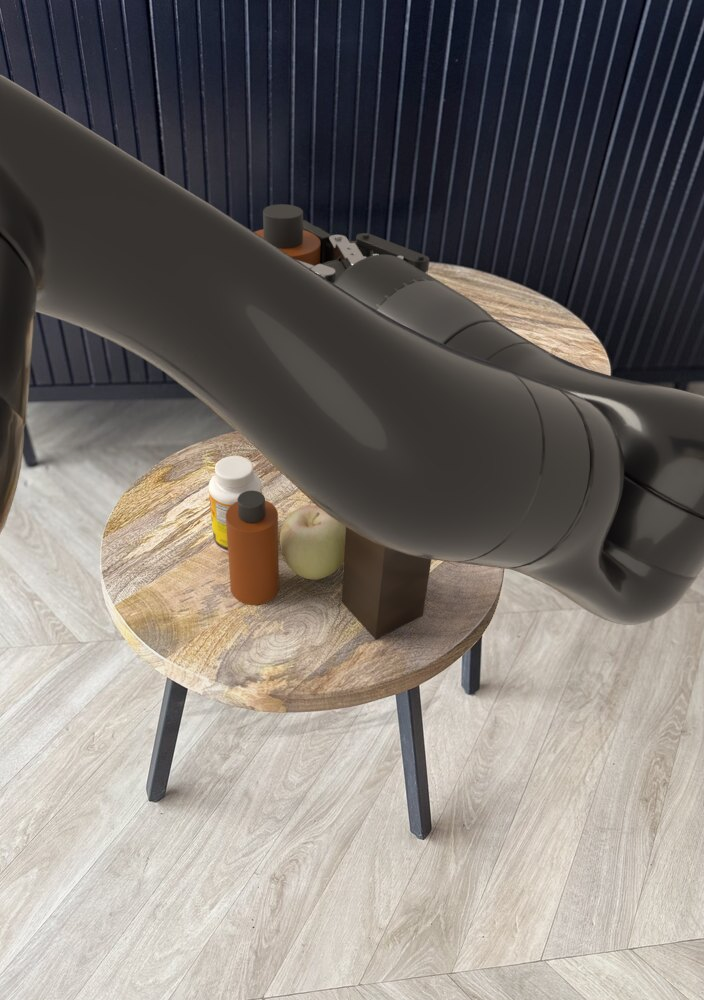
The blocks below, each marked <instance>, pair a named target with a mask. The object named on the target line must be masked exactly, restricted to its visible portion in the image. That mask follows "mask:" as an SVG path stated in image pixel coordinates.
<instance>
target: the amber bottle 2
mask: <svg viewBox="0 0 704 1000" xmlns="http://www.w3.org/2000/svg"><path fill="white" fill-rule="evenodd" d="M303 220H304V211H303V209H302V208H301V207H299V206H296V205H292V204H287V203H286V204H284V203H283V204H282V203H279V204H272V205H268V206H266V207H264V208H263V210H262V221H263V222H262V223H263V224H262V225H263V228H262V229H259V230H256V231H253V232H254V233H256V234H258V235H259V236H261V237H262V238H264V239H265V240H267V241H268V242H270V243H271V244H272V245H274V246H275V247H277V248H278V249H280V250H281V251H283V252H284V253H286V254H287V255H289V256H291V257H292V258H294V259H296V260H299V261H302V262H305V263H308V264H311V265H314V266H316V265H317V264H320V251H321V242H320V240H319V238H318V237H317V236H316V235H314V234H312V233H310V232H308V231H305V230H303Z"/></svg>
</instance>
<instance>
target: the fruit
mask: <svg viewBox="0 0 704 1000" xmlns="http://www.w3.org/2000/svg"><path fill="white" fill-rule="evenodd" d="M345 535H346V526H344V525H343V524H341V523H340V522H338V521H337V520H335V519H334V518H332V517H331V516H330V515H328V514H327V513H326V512H324V511H323V510H322V509H321V508H319V507H318V506H317V505H316V504H313V505H304V506H301V507H299V508H297V509H295V510H294V511H292V512H291V513H290V514H289V515H288V516H287V517H286V519H285V520H284V522H283V524H282V526H281V528H280V531H279V547H280V551H281V554H282V557H283V559H284V561H285V563H286V565H287V566H288V567H289V569H290V570H291V571H292V572H293V573H294V574H295V575H297V576H299V577H301V578H303V579H306V580H315V581H316V580H321V579H324V578H326V577H329V576H330V575H333V574H334V573H335V572H336V571H337V570H338V569H339V568H340V567H341V566H342V564H344V552H345Z"/></svg>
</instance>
